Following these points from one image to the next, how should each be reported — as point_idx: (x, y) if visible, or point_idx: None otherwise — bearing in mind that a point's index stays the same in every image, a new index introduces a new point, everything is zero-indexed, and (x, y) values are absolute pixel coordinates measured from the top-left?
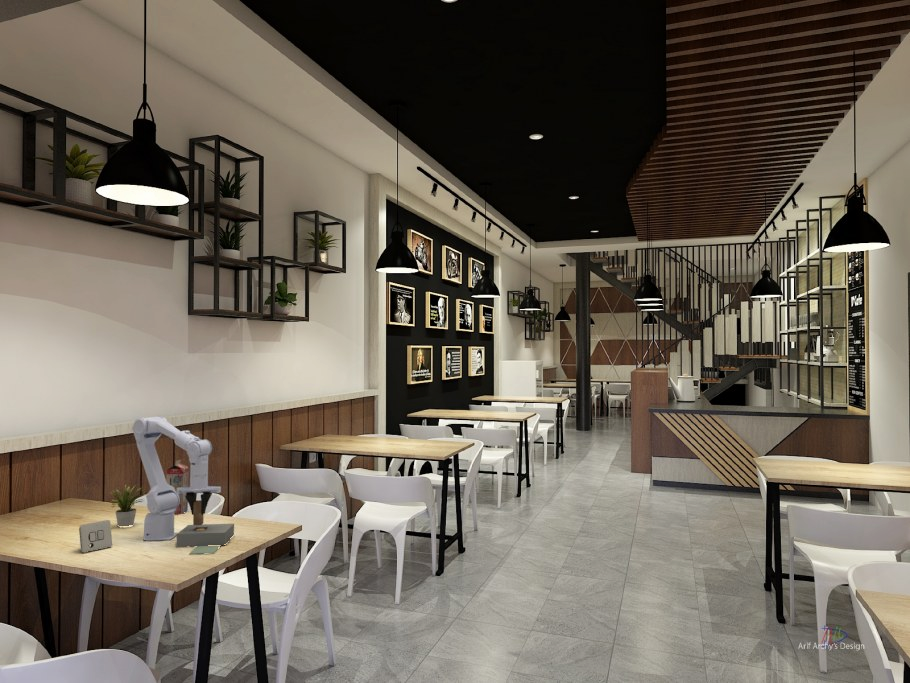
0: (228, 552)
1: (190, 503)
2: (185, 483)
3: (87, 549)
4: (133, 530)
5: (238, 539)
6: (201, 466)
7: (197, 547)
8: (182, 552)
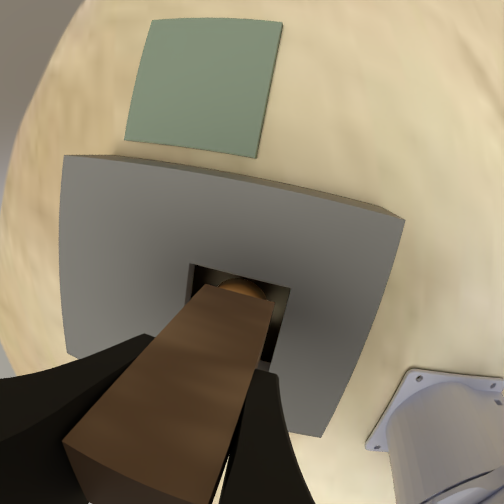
0: (100, 43)
1: (276, 493)
2: None
3: None
4: None
5: None
6: None
7: (247, 130)
8: (329, 80)
